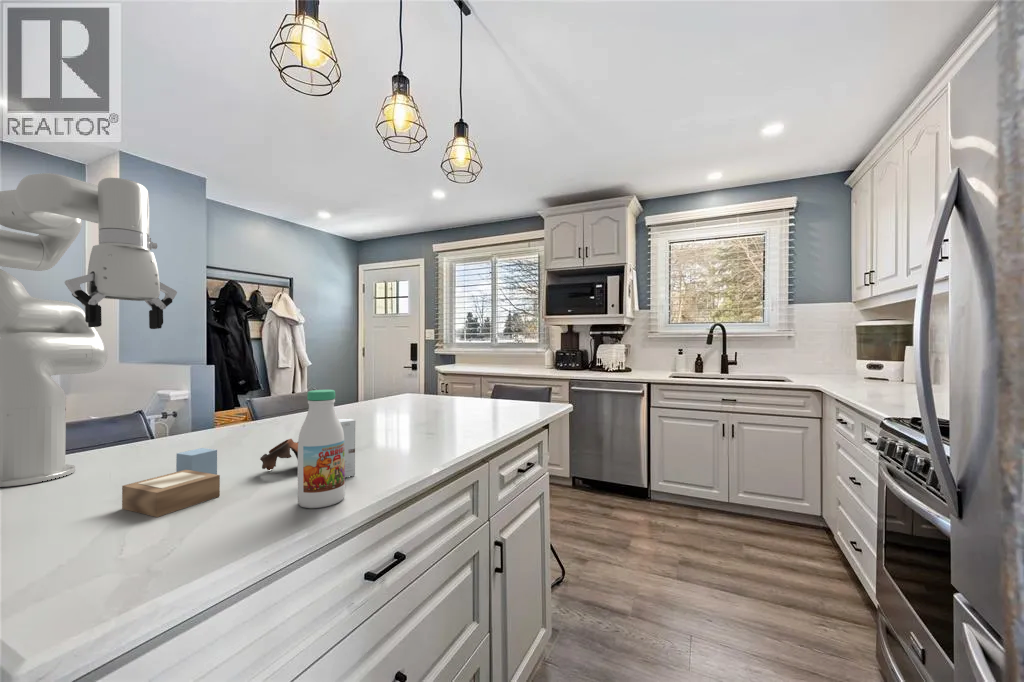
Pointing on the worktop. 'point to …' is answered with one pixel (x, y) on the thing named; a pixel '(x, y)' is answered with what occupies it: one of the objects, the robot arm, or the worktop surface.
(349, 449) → the skincare box
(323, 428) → the milk bottle
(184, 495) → the walnut plinth
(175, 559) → the worktop surface
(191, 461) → the slate block
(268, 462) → the brown segmented ring
